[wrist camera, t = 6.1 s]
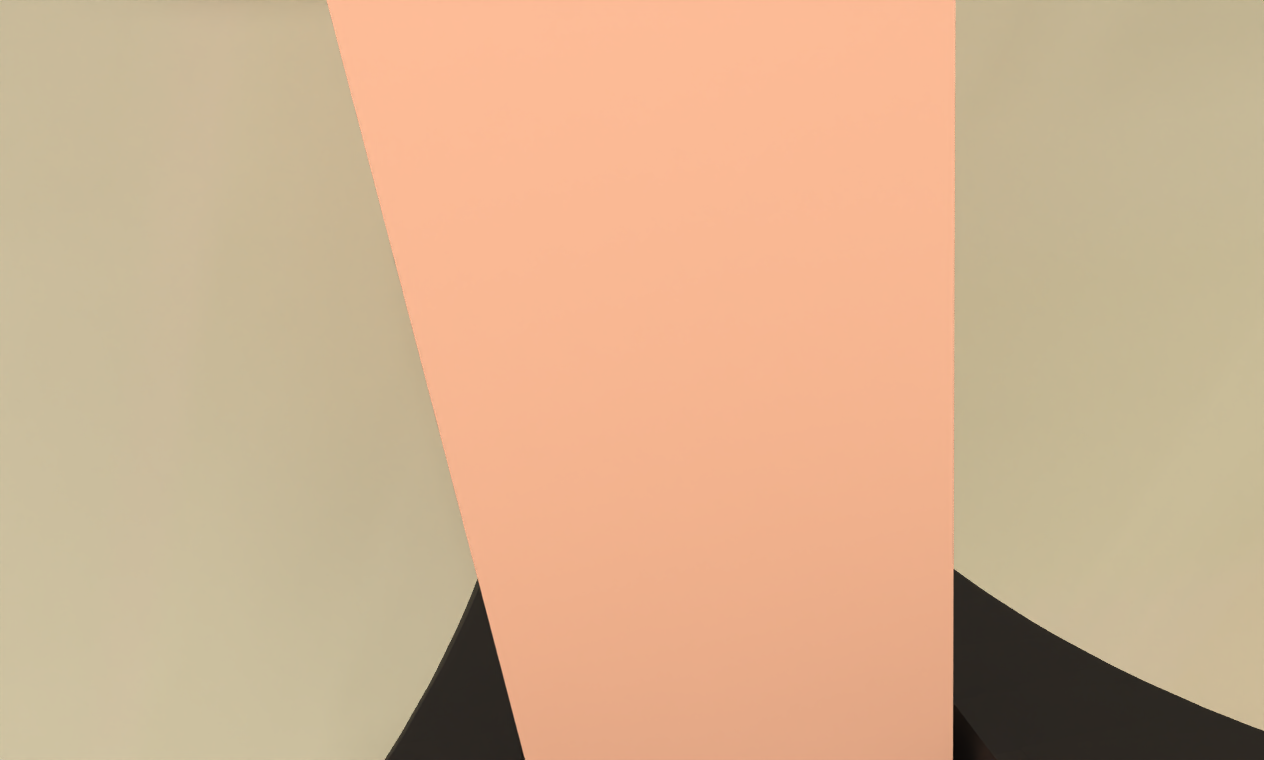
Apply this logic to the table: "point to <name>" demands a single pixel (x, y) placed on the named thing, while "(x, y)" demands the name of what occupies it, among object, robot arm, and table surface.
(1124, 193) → the table surface
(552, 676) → the salmon long block
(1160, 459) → the table surface
